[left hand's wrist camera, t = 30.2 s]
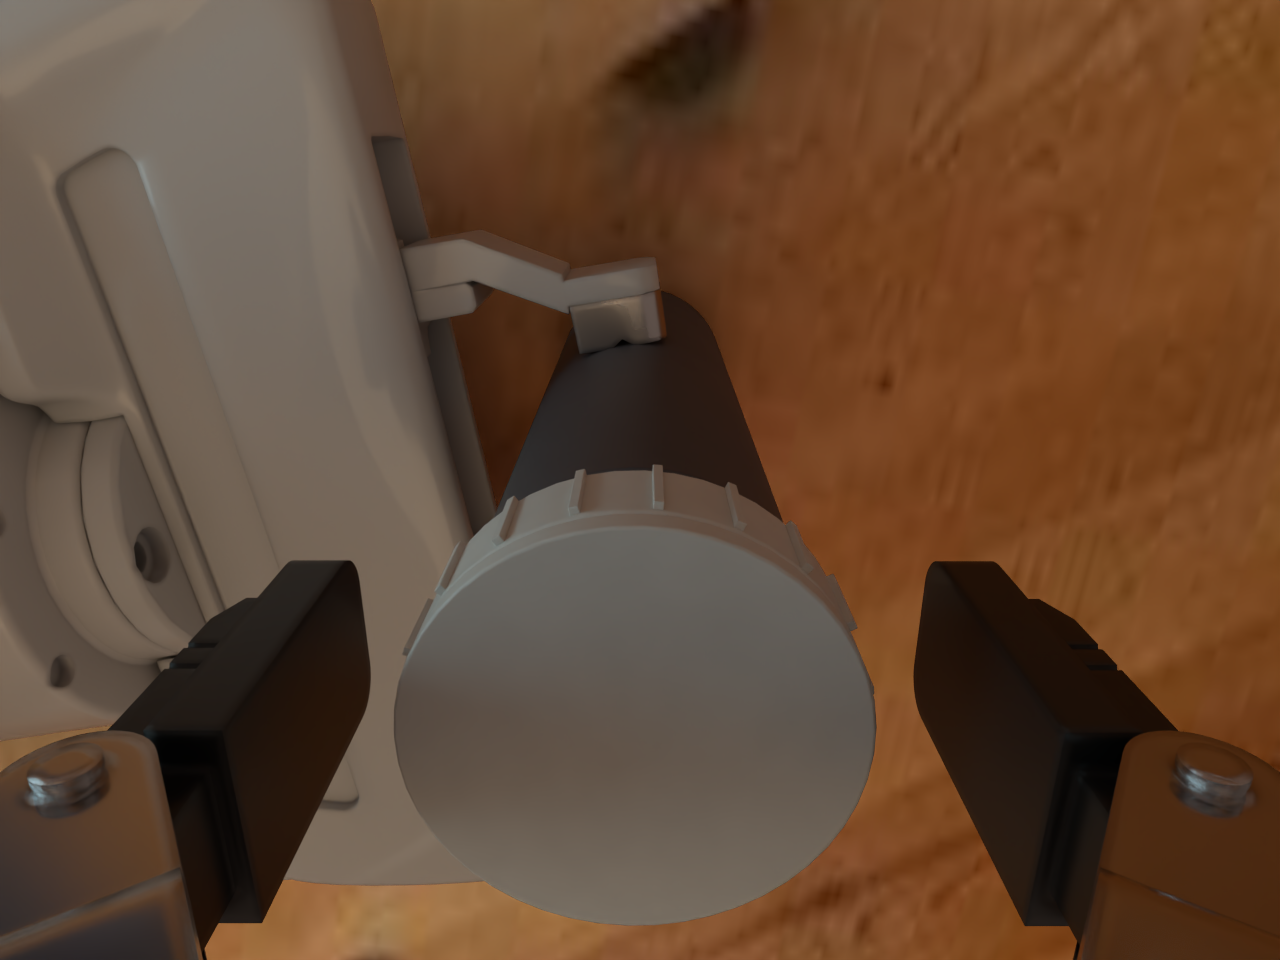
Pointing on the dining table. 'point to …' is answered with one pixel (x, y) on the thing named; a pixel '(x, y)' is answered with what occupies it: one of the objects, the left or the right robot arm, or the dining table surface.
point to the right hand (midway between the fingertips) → (683, 430)
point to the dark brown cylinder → (643, 414)
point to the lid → (635, 701)
